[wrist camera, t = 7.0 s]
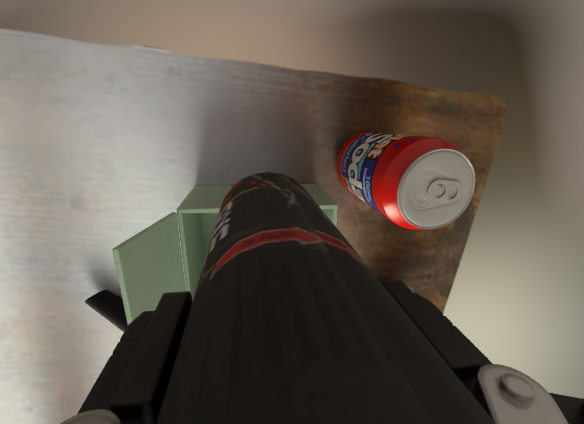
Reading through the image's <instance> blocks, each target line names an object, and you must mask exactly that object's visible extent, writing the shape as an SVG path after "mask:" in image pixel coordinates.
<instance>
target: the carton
mask: <svg viewBox="0 0 584 424" xmlns="http://www.w3.org/2000/svg"><path fill="white" fill-rule="evenodd" d="M300 185H302V186H303V187H304V188H305V190H306V191H307V192H308V193H309V195H310V196H311V197H312V198H313V199H314V201H315V202H316V203H317V204H318V206H319V207H320V208H321V209H322V211H323V212H324V213H325V214H326V215H327V217H328V218H329V219H330V220H331V222H332V223H333V224H334V225H335V227H336V224H337V210H338V209H337V208H338V205H337V204H336V203H335V202H334V201H333V200H332V199H331V198H330V197H329V196H328V195H327V194H326V193H325V192H324V191H323V190H322V189H321V188H320V187H319V186H318V185H317V184H315V183H311V184H300ZM233 186H234V185H195V187H194V188H193V189H192V190H191V192H190V193H189V194H188V196H187V197H186V198H185V199H184V201H183V202H182V203H181V205H180V206H179V207H178V209H177V216H178V224H179V233H180V241H181V249H182V258H183V266H184V274H185V283H186V291H190V292H191V295H192V301H193V298H194V294H195V291H196V288H197V284H198V281H199V278H200V274H201V271H202V268H203V264H204V261H205V258H206V254H207V251H208V248H209V244H210V241H211V238H212V234H213V231H214V228H215V224H216V221H217V218H218V214H219V211H220V208H221V205H222V203H223V200H224V198H225V196H226V195H227V193H228V192H229V191H230V189H231V188H232V187H233Z"/></svg>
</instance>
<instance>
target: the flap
mask: <svg viewBox="0 0 584 424" xmlns="http://www.w3.org/2000/svg"><path fill="white" fill-rule="evenodd" d="M112 251H113V256H114V260H115V265H116V270H117V275H118V280H119V285H120V289H121V294H122V299H123V304H124V309H125V314H126V319H127V323H128V325H129V324H130V323H131V322H132V321H133V320H134V319H135V318H137V317H138V316H139V315H140V314H141V313H142V312H143V311H155V309H156V307H157V305H158V303H159V301H160V299H161V297H162V295H163V294H164V293H167V292H184V291H186V287H185V279H184V271H183V262H182V254H181V246H180V237H179V229H178V221H177V213H174V212H172V213H171V214H169V215H167V216H166V217H164V218H162V219H161V220H159V221H157V222H156V223H154V224H153V225H151V226H149V227H148V228H146V229H144V230H143V231H141V232H139V233H138V234H136V235H135V236H133V237H131V238H130V239H128V240H126V241H125V242H123V243H121V244H120V245H118V246H116V247H115V248H113V249H112Z"/></svg>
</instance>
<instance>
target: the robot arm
mask: <svg viewBox="0 0 584 424" xmlns="http://www.w3.org/2000/svg"><path fill="white" fill-rule="evenodd" d="M379 281H380V282H381V283H382V284H383V286H384V287H385V288H386V289H387V290H388V292H389V293H390V294H391V295H392V297H393V298H394V299H395V300H396V302H397V303H398V304H399V305H400V306H401V308H402V309H403V310H404V311H405V313H406V314H407V315H408V316H409V317H410V319H411V320H412V321H413V322H414V324H415V325H416V326H417V327H418V329H419V330H420V331H421V332H422V333H423V335H424V336H425V337H426V338H427V340H428V341H429V342H430V343H431V345H432V346H433V347H434V348H435V349H436V351H437V352H438V353H439V354H440V356H441V357H442V358H443V359H444V361H445V362H446V363H447V364H448V365H449V367H450V368H451V369H452V370H453V372H454V373H455V374H456V375H457V377H458V378H459V379H460V380H461V381H462V383H463V384H464V385H465V386H466V388H467V389H468V390H469V391H470V393H471V394H472V395H473V396H474V397H475V399H476V400H477V401H478V402H479V404H480V405H481V406H482V407H483V408H484V410H485V411H486V412H487V413H488V415H489V416H490V417H491V418H492V420H493V421H494V422H495V423H496V424H584V399H580V398H575V397H569V396H563V395H558V394H553V393H548V392H547V391H546V390H545V389H544V388H543V387H542V386H541V385H540V384H539V383H537V382H536V381H535V380H533V379H532V378H530V377H529V376H527V375H525V374H523V373H522V372H520V371H518V370H516V369H513V368H510V367H507V366H504V365H497V364H492V363H491V362H490V361H489V360H488V358H487V357H485V356H484V355H483V354H482V352H481V351H479V349H478V348H477V347H475V346H474V344H473V343H472V342H471V341H470V340H469V339H468V338H466V336H464V335H463V334H462V332H460V330H459V329H458V328H457V327H455V326H453V324H452V323H451V322H450V320H449V319H448V318H447V317H446V316H443V313H442V312H441V311H440V310H439V309H438V308H437V307H436V306H435V305H434V304H433V303H432V302H430V301H428V300H427V299H425V298H423V297H422V296H420V295H418V294H417V293H413V292H412V291H411V290H410V289H409V288H408V287H407V286H406V285H405V284H404V283H403V282H402V281H401V280H399V279H395V280H379ZM191 304H192V295H191V292H190V291H184V292H167V293H164V294H163V295H162V297H161V299H160V301H159V303H158V305H157V307H156V309H155V311H143V312H142V313H141V314H140V315H139V316H138V317H137V318H135V319H134V320H133V321H132V322H131V323H130V324H129V325H128V327H127V328H126V330H125V332H124V334H123V335H122V337H121V339H120V342H118V344H117V346H116V348H115V349H114V351H113V355H112V356H110V358H109V360H108V362H107V363H106V365H105V367H104V369H103V370H102V372H101V374H100V375H99V377H98V379H97V381H96V382H95V384H94V386H93V388H92V389H91V391H90V393H89V395H88V396H87V398H86V400H85V402H84V403H83V405H82V407H81V409H80V410H79V412H78V414H77V415H75V416H73V417H71V418H69V419H67V420H65V421H64V422H62V423H61V424H156V421H157V418H158V415H159V411H160V408H161V405H162V401H163V398H164V395H165V391H166V388H167V385H168V381H169V378H170V375H171V371H172V368H173V364H174V361H175V358H176V354H177V351H178V348H179V344H180V341H181V338H182V334H183V331H184V328H185V324H186V321H187V318H188V314H189V311H190V308H191Z"/></svg>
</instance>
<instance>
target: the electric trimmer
mask: <svg viewBox="0 0 584 424" xmlns="http://www.w3.org/2000/svg"><path fill="white" fill-rule="evenodd" d="M85 302H86V304H88V305H89V306H90V307H92V308H93V309H94V310H96V311H97V312H98V313H100V314H101V315H102V316H103V317H105V318H106V319H107V320H109V321H110V322H111V323H113V324H114V325H115V326H117V327H118V328H119V329H121V330H122V331H123V332H125V330H126V328H127V327H128V323H127V319H126V314H125V309H124V304H123V299H122V298H121V297H119V296H117V295H116V294H114V293H112V292H110V291H108V290H103V291H101V292H99V293H97V294H95V295H93V296H91V297H90V298H88V299H87V300H86V301H85Z"/></svg>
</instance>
